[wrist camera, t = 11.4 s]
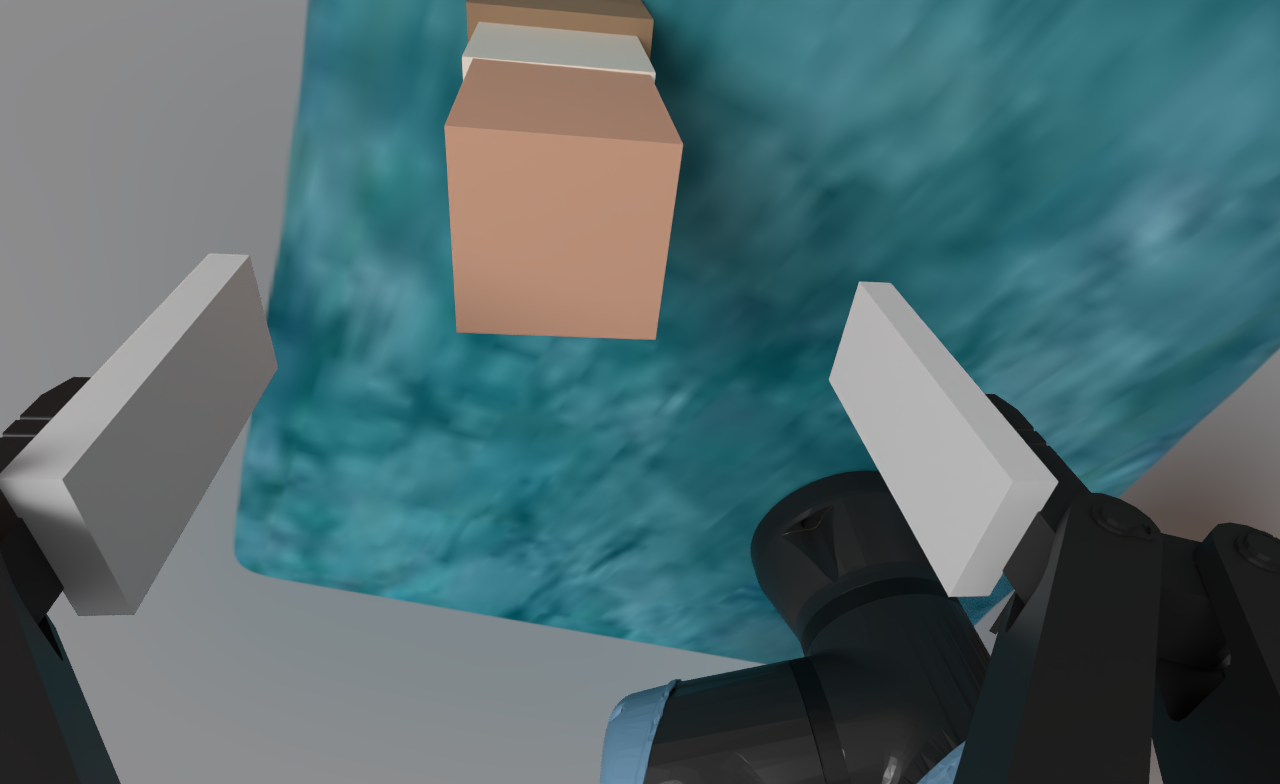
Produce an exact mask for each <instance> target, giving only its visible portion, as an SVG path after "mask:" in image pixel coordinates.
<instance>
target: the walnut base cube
mask: <svg viewBox="0 0 1280 784" xmlns="http://www.w3.org/2000/svg"><path fill="white" fill-rule="evenodd" d="M466 8H467V29H468V43H469V41H470V39H471V37H472V35H473V32H474V30H475V28H476V26H477V24H478V22H487V23H498V24H509V25H519V26H530V27H541V28H552V29H563V30H574V31H585V32H596V33H607V34H618V35H629V36H637V37H638V39H639V41H640V43H641V44H642V46H643V48H644V50H645V52H646V54H647V56H648V58H649V60H650V54H651V44H652V34H653V23H654V19H653V18H652V16H651V15H650V13H649V12H648V10H647V9H646V7H645V6H644V4H643V3H642V1H641V0H467V2H466Z"/></svg>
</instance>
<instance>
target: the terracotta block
mask: <svg viewBox="0 0 1280 784" xmlns="http://www.w3.org/2000/svg"><path fill="white" fill-rule="evenodd" d="M445 140H446V157H447V174H448V191H449V208H450V225H451V242H452V258H453V275H454V292H455V309H456V326H457V332H459V333H486V334H513V335H540V336H568V337H595V338H622V339H649V340H655V339H656V332H657V325H658V318H659V311H660V304H661V297H662V290H663V283H664V276H665V269H666V262H667V255H668V248H669V241H670V234H671V227H672V220H673V213H674V206H675V199H676V192H677V185H678V178H679V171H680V164H681V157H682V150H683V143H682V141H681V139H680V137H679V134H678V132H677V130H676V128H675V126H674V124H673V122H672V120H671V118H670V115H669V113H668V111H667V109H666V107H665V105H664V103H663V101H662V99H661V97H660V94H659V92H658V90H657V88H656V86H655V84H654V82H653V80H652V78H651V75H649V74H638V73H628V72H617V71H606V70H595V69H585V68H574V67H563V66H553V65H542V64H531V63H520V62H510V61H499V60H488V59H477V58H473V59H472V61H471V64H470V66H469V69H468V71H467V73H466V76H465V78H464V81H463V83H462V85H461V88H460V90H459V93H458V95H457V97H456V100H455V102H454V104H453V107H452V109H451V112H450V114H449V116H448V119H447V121H446V124H445Z"/></svg>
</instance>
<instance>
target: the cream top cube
mask: <svg viewBox="0 0 1280 784" xmlns="http://www.w3.org/2000/svg"><path fill="white" fill-rule="evenodd" d="M473 58H477V59H488V60H499V61H510V62H520V63H531V64H542V65H553V66H563V67H574V68H585V69H595V70H606V71H617V72H628V73H638V74H649V75H651V78H652V80H653V82H654V84H655V75H656V72H655V70H654V68H653V66H652V64H651V62H650V60H649V58H648V56H647V54H646V52H645V50H644V48H643V46H642V44H641V43H640V41H639V39H638V37H637V36H629V35H618V34H607V33H596V32H585V31H574V30H563V29H552V28H541V27H530V26H519V25H509V24H498V23H487V22H478V24H477V26H476V28H475V30H474V32H473V35H472V37H471V39H470V41H469V43H468V45H467V47H466V49H465V51H464V53H463V55H462V67H463V81H464V78H465V76H466V73H467V71H468V69H469V66H470V64H471V61H472V59H473Z"/></svg>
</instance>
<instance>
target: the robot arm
mask: <svg viewBox="0 0 1280 784" xmlns="http://www.w3.org/2000/svg"><path fill="white" fill-rule="evenodd" d="M277 368H278V365H277V361H276V357H275V353H274V350H273V346H272V342H271V338H270V334H269V330H268V326H267V322H266V318H265V314H264V310H263V306H262V303H261V298H260V295H259V291H258V287H257V283H256V279H255V275H254V271H253V267H252V263H251V259H250V256H249V255H233V254H210V253H209V254H208V255H207V256H206V257H205V259H204V260H203V261H202V262H201V263H200V264H199V265H198V266H197V267H196V268H195V269H194V270H193V271H192V272H191V273H190V274H189V275H188V276H187V277H186V279H185V280H184V281H183V282H182V283H181V284H180V285H179V286H178V287H177V288H176V289H175V290H174V291H173V292H172V293H171V294H170V295H169V296H168V298H167V299H166V300H165V301H164V302H163V303H162V304H161V305H160V306H159V307H158V308H157V309H156V310H155V311H154V312H153V313H152V314H151V315H150V316H149V317H148V318H147V320H146V321H145V322H144V323H143V324H142V325H141V326H140V327H139V328H138V329H137V330H136V331H135V332H134V333H133V334H132V335H131V337H129V338H128V340H127V341H126V342H125V343H124V344H123V345H122V346H121V347H120V348H119V349H118V350H117V351H116V352H115V353H114V354H113V355H112V357H110V359H109V360H108V361H107V362H106V363H105V364H104V365H103V366H102V367H101V368H100V369H99V370H98V371H97V372H96V373H95V374H94V375H93V376H92V377H91V378H90V377H73V378H71V379H69V380H67V381H65V382H64V383H62V384H60V385H58V386H56V387H55V388H53V389H51V390H49V391H48V392H46V393H44V394H42V395H41V396H40V397H39V398H38V399H37V400H36V401H35V402H34V403H33V404H32V405H31V406H30V407H29V408H28V409H27V410H26V411H25V412H24V413H23V414H21V415H20V420H15V422H13V423H12V424H11V425H10V426H9V427H8V428H7V429H6V430H5V431H4V432H3V437H2V438H0V784H121V783H120V781H119V779H118V776H117V774H116V771H115V769H114V767H113V764H112V762H111V760H110V757H109V755H108V753H107V750H106V748H105V745H104V743H103V740H102V738H101V736H100V733H99V731H98V729H97V726H96V724H95V721H94V719H93V717H92V714H91V712H90V709H89V707H88V705H87V702H86V700H85V698H84V695H83V693H82V690H81V688H80V686H79V683H78V681H77V678H76V676H75V674H74V671H73V669H72V666H71V664H70V662H69V659H68V657H67V655H66V652H65V650H64V647H63V645H62V642H61V640H60V638H59V635H58V633H57V630H56V628H55V626H54V625H53V623H52V622H51V620H50V618H49V617H48V615H47V614H46V613H47V612H48V611H49V609H50V608H51V606H52V605H53V603H54V602H55V601H56V599H57V598H58V596H59V595H60V593H61V592H62V591H63V592H64V593H65V595H66V597H67V599H68V600H69V602H70V604H71V605H72V607H73V608H74V610H75V611H76V613H77V615H78V616H93V615H94V616H95V615H134V614H135V613H136V611H137V609H138V607H139V606H140V604H141V602H142V600H143V599H144V597H145V595H146V594H147V592H148V590H149V588H150V587H151V584H152V583H153V582H154V580H155V578H156V576H157V575H158V573H159V571H160V569H161V568H162V566H163V564H164V562H165V561H166V559H167V557H168V556H169V554H170V552H171V550H172V549H173V547H174V545H175V544H176V542H177V540H178V539H179V537H180V535H181V533H182V532H183V530H184V528H185V526H186V525H187V523H188V521H189V519H190V518H191V516H192V514H193V513H194V511H195V509H196V508H197V506H198V504H199V502H200V501H201V499H202V497H203V495H204V494H205V492H206V490H207V489H208V487H209V485H210V483H211V482H212V480H213V478H214V477H215V475H216V473H217V471H218V470H219V468H220V466H221V464H222V463H223V461H224V459H225V457H226V456H227V454H228V452H229V450H230V449H231V447H232V446H233V444H234V442H235V440H236V439H237V437H238V435H239V433H240V432H241V430H242V428H243V427H244V425H245V423H246V421H247V420H248V418H249V416H250V415H251V413H252V411H253V409H254V408H255V406H256V404H257V403H258V401H259V399H260V397H261V396H262V394H263V392H264V391H265V389H266V387H267V385H268V384H269V382H270V380H271V378H272V377H273V375H274V373H275V372H276V370H277ZM829 381H830V383H831V385H832V387H833V388H834V390H835V392H836V394H837V396H838V398H839V399H840V401H841V403H842V405H843V407H844V408H845V410H846V412H847V414H848V416H849V417H850V419H851V421H852V423H853V425H854V426H855V428H856V430H857V432H858V434H859V435H860V437H861V439H862V441H863V443H864V445H865V446H866V448H867V450H868V452H869V454H870V455H871V457H872V459H873V461H874V463H875V464H876V466H877V468H878V470H879V472H877V471H858V472H849V473H843V474H838V475H834V476H830V477H827V478H823V479H821V480H818V481H815V482H813V483H810V484H808V485H806V486H804V487H802V488H800V489H798V490H796V491H795V492H793V493H791V494H790V495H788V496H787V497H785V498H784V499H783V500H781V501H780V502H779V503H778V504H777V505H775V506H774V507H773V508H772V509H771V510H770V511H769V512H768V513H767V515H766V516H765V517H764V518H763V520H762V521H761V522H760V524H759V525H758V527H757V529H756V531H755V533H754V536H753V539H752V543H751V559H752V563H753V566H754V570H755V573H756V577H757V580H758V583H759V585H760V587H761V589H762V591H763V592H764V594H765V595H766V596H767V598H768V599H769V600H770V601H771V603H772V604H773V606H774V607H775V608H776V610H777V611H778V613H779V614H780V615H781V617H782V618H783V619H784V621H785V622H786V623H787V625H788V626H789V627H790V629H791V630H792V631H793V633H794V634H795V635H796V637H797V638H798V639H799V641H800V644H801V646H802V649H803V653H804V656H805V657H803V658H798V659H793V660H787V661H782V662H777V663H772V664H767V665H762V666H757V667H753V668H747V669H742V670H737V671H733V672H727V673H723V674H718V675H712V676H707V677H702V678H697V679H693V680H687V681H681V680H680V679H676V680H672V681H671V682H670V683H669V684H667V685H664V686H660V687H656V688H652V689H648V690H644V691H641V692H637V693H633V694H630V695H628V696H627V697H625V698H624V699H622V700H621V701H620V702H619V703H618V704H617V706H616V707H615V709H614V710H613V712H612V714H611V716H610V719H609V722H608V726H607V729H606V733H605V738H604V745H603V751H602V761H601V775H600V784H1149V773H1150V757H1151V739H1153V744H1154V748H1155V752H1156V756H1157V760H1158V764H1159V768H1160V772H1161V776H1162V780H1163V784H1280V539H1278V538H1274V537H1273V536H1272V535H1270V534H1268V533H1266V532H1264V531H1260V530H1257V529H1254V528H1252V527H1249V526H1247V525H1241V524H1235V523H1224V524H1218V525H1217V526H1216V527H1215V528H1214V529H1213V530H1212V531H1211V532H1210V533H1209V534H1208V536H1207V537H1206V538H1205V539H1204V540H1203V542H1198V541H1193V540H1188V539H1184V538H1180V537H1176V536H1171V535H1167V534H1163V533H1161V532H1160V530H1159V528H1158V527H1157V526H1156V525H1155V523H1154V522H1153V521H1152V520H1151V519H1150V518H1149V517H1148V516H1147V515H1145V514H1144V513H1143V512H1141V511H1140V510H1139V509H1138V508H1136V507H1134V506H1132V505H1130V504H1128V503H1127V502H1125V501H1123V500H1121V499H1119V498H1115V497H1112V496H1109V495H1106V494H1102V493H1091V492H1090V491H1089V490H1088V489H1087V488H1086V486H1085V485H1084V484H1083V483H1082V482H1081V481H1080V480H1079V478H1078V477H1077V476H1076V475H1075V474H1074V473H1073V472H1072V471H1071V469H1070V468H1069V467H1068V466H1067V465H1066V464H1065V463H1064V461H1063V460H1062V459H1061V458H1060V457H1059V456H1058V455H1057V454H1056V452H1055V451H1054V450H1053V449H1052V448H1051V447H1050V446H1046V441H1045V440H1044V439H1043V438H1042V437H1041V435H1040V434H1039V433H1038V432H1037V431H1033V429H1034V428H1033V426H1032V425H1031V424H1030V423H1029V422H1028V421H1027V420H1026V418H1025V417H1024V416H1023V415H1022V414H1021V413H1020V412H1019V411H1018V410H1017V409H1016V408H1014V407H1013V406H1011V405H1010V404H1008V403H1007V402H1005V401H1004V400H1003V399H1001V398H1000V397H998V396H997V395H995V394H984V393H983V392H982V390H981V389H980V388H979V387H978V386H977V385H976V383H975V382H974V381H973V380H972V379H971V377H970V376H969V375H968V374H967V373H966V372H965V370H964V369H963V368H962V367H961V366H960V364H959V363H958V362H957V361H956V360H955V359H954V357H953V356H952V355H951V354H950V353H949V351H948V350H947V349H946V348H945V347H944V346H943V344H942V343H941V342H940V341H939V340H938V338H937V337H936V336H935V335H934V334H933V333H932V331H931V330H930V329H929V328H928V327H927V325H926V324H925V323H924V322H923V321H922V319H921V318H920V317H919V316H918V315H917V314H916V312H915V311H914V310H913V309H912V308H911V306H910V305H909V304H908V303H907V302H906V301H905V299H904V298H903V297H902V296H901V295H900V293H899V292H898V291H897V290H896V289H895V288H894V286H893V285H892V284H891V283H880V282H859V284H858V287H857V290H856V294H855V297H854V300H853V303H852V307H851V310H850V313H849V316H848V319H847V323H846V326H845V329H844V332H843V336H842V339H841V342H840V345H839V348H838V352H837V355H836V358H835V361H834V365H833V368H832V371H831V374H830V378H829ZM1003 573H1004V574H1005V576H1006V577H1007V579H1008V580H1009V582H1010V583H1011V585H1012V586H1013V588H1014V589H1015V592H1014V593H1013V595H1012V596H1011V598H1010V599H1009V601H1008V602H1007V604H1006V606H1005V607H1004V609H1003V610H1002V612H1001V613H1000V615H999V617H998V618H997V620H996V621H995V623H994V624H993V626H992V627H991V629H990V632H992V633H994V634H996V633H997V632H998V634H997V638H996V641H995V645H994V648H993V651H992V654H991V656H990V655H989V653H988V651H987V649H986V648H985V646H984V644H983V642H982V641H981V639H980V637H979V635H978V633H977V632H976V630H975V628H974V626H973V625H972V623H971V621H970V619H969V618H968V616H967V614H966V612H965V611H964V609H963V607H962V606H961V604H960V602H959V600H958V598H957V597H964V596H989V595H990V594H991V592H992V590H993V589H994V587H995V585H996V584H997V582H998V580H999V579H1000V577H1001V575H1002V574H1003Z"/></svg>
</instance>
